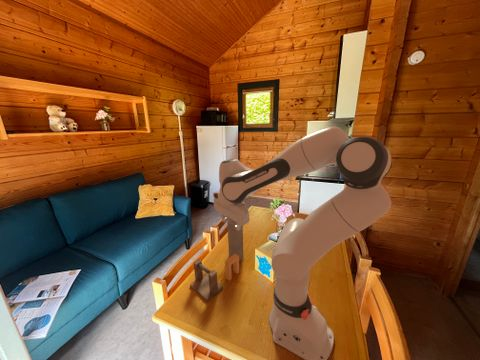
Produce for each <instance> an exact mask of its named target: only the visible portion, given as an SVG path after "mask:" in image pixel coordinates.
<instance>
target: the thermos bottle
mask: <svg viewBox="0 0 480 360" xmlns="http://www.w3.org/2000/svg"><path fill="white" fill-rule="evenodd" d="M226 222H227V240H228V241H227V242H228V243H227V244H228V258H230V257H231V256H232V255H234V254H237V255H239V262H240V261H241V260H243V259H244V227H243V226H244V225H241V229H240V230H239V231H238V230H236V229H235V226H237V225H238V224H237V222H236V221H234V220H232V219H230V218H229V217H227V221H226Z"/></svg>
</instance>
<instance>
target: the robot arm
mask: <svg viewBox="0 0 480 360" xmlns="http://www.w3.org/2000/svg"><path fill="white" fill-rule="evenodd" d="M333 165H336V166H337V169H338V171H339V173H340V175H341V177H342V180H343V183H344V185H345V187H344V188H343V189H342V190H341V191H340V192H338V193H337V194H335V195H334V196H332V197H331V198H330V199H328V200H326V201H325V202H324V203H322V204H321V205H320V206H318V207H317V208H315V209H314V210H313V211H311V212H310V213H309V214H308V215H307V217H305V219H304V218H299V217H296V218H292V219H291V220H289V221H288V222H287V223H286V224H285V225H284V226H283V227H282V230H281V232H280V234H279V237H278V238H277V241H276V244H275V245H274V247H273V250H272V254H271V255H272V257H271V262H270V263H271V269H272V271H273V272H274V274H275V282H274V283H275V284H274V288H273V305H272V309H271V311H270V313H269V318H268V321H269V325H270V326H269V327H270V329H271V330H272V340H273V342H274V343H276V344H277V345H279V346H281V347H282V348H285V349H286V350H288V351H289V352H291V353H293V354H295V355H296V356H298V357H299V358H302V359H303V360H328V358H329V357H330V355H331V354H332V351H333V348H334V342H335V341H334V339H335V336H334V332H333V329H331V328H330V327H329V326H328V325H327V321H326V319H325V317H324V316H323V315H322V314H321V313H320V311H319V309H318V307H317V306H315V305H314V300H315V299H314V298H313V299H312V300H311V299H310V296H309V293H308V292H309V285H310V284H309V282H310V274H311V268H312V267H313V266H315V264H316V263H318V262H319V261H320V260H321V259H322V258H323V257H324V256H325V255H326V254H328V253H329V252H330V250H332V249H333V248H335V247H336V246H337V245H339V244H341V243H342V242H344V241H346V240H347V239H349V238H352V237H353V236H354V235H356V234H358V233H360V232H361V231H363V230H365V229H367V228H368V227H370V226H372V225H373V224H374V223H376V222H377V221H378V220H380V219H381V218H382V217H383V216H384V215H385V214H386V213H388V212H389V211H390V209H391V207H392V200H391V197H390V195H389V193H388V191H387V190H386V188H384V187H383V184H382V179H384V178H385V177H386V176H387V175H388V174H389V173H390V171H391V169H392V155H391V152H390V151H389V149H388V147H387V146H386V145H384V143H383V142H382V141H380V140H379V139H377V138H375V137H372V136H364V135H363V136H355V137H353V138H349V136H348V134H347V133H346V132H345V130H344V129H342V128H341V127H338V126H334V125H333V126H328V127H326V128H323V129H319V130H317V131H314V132H312V133H309V134H307V135H305V136H304V137H302V138H301V137H300V138H299V139H297V140H296V141H295V142H293V143H291V144H290V145H288V146H287V147H285V148H284V149H283V150H281V152H280V153H278V154H276V156H274V157H273V158H272V159H270V160H269V161H267V162H266V163H265V164H263V165H261V166H260V167H258V168H256V169H253V168H251V167H248V166H246V165H244V163H242V162H241V161H240V160H239V159H237V158H230V159H226V160H223V161H221V162H220V164H219V169H218V181H219V186H220V187H219V190H217V191H214V192H213V193H212V196H213V208H214V210H215V211H216V212H218V213H219V215H220V217H221V222H223V223H226V222H227V221H228V218H230V219H232V220H234V221H236V222H237V224H238V225H237V226H235V229H236V230H238V231H239V230H240V229H241V225H243V226H245V225H246V224H248V223H250V211H249V207H248V205H247V204H246V203H245V202H244V201H245V200H246V199H248V198H250V197H251V196H252V195H253V194H255V193H256V192H258V191H259V190H261V189H262V188H264V187H266V186H269V185H271V184H274V183H277V182H279V181H283V180H287V179H291V178H295V177H299V176H303V175H308V174H311V173H313V172H316V171H319V170H320V169H323V168H325V167H328V166H329V167H330V166H333Z"/></svg>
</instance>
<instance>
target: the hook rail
mask: <svg viewBox="0 0 480 360" xmlns="http://www.w3.org/2000/svg"><path fill="white" fill-rule="evenodd" d="M193 268H194V269H193V270H194V279H195V280H193V281H192V282H191V283H190V284H189V286H190V287H191V288H192V289H193V290H194V291H196V293H197V294H198V295H199V296H201V297H202V298H203V299H204V300H205V301H206V302H209V301H210V300H211V299H212V298H214V297H215V296H216V295H217V294H218V293H220V292H221V291H222V290H223V289H224V286H223V285H222V284H221V283H219V281H218V272H217V271H216V270H215V269H212V270H210V269H209V268H207V267H206V266H205V265H203V263H202V260H201V259H200V258H198V259H197V260H195V261H193ZM203 272H204V273H203Z"/></svg>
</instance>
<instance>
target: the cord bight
mask: <svg viewBox="0 0 480 360" xmlns="http://www.w3.org/2000/svg"><path fill="white" fill-rule="evenodd" d="M232 267H233V273H234V274H236V275H238V274H239V273H240V261H239V255H237V254H234V255H232V256H231V257H230V258H229V257H228V258H226V260H225V261H224V269H225V279H226V280H228V281H231V280H233V279H232V275H233V273H232Z"/></svg>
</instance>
